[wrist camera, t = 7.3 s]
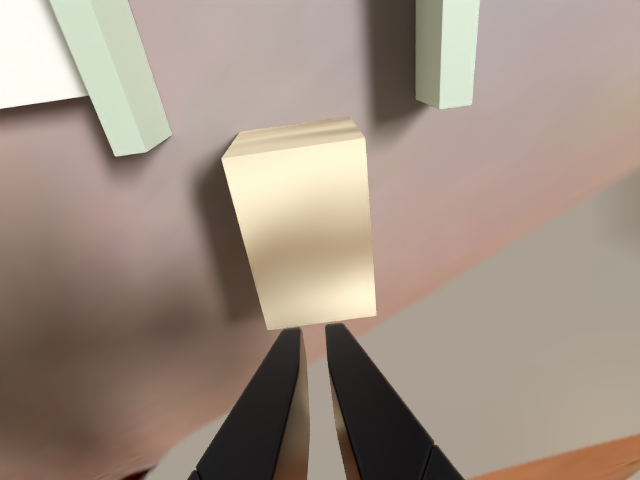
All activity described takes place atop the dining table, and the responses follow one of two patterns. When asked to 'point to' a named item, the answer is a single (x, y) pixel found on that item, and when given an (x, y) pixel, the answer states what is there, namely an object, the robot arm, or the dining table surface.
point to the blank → (305, 220)
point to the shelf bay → (142, 95)
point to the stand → (35, 56)
